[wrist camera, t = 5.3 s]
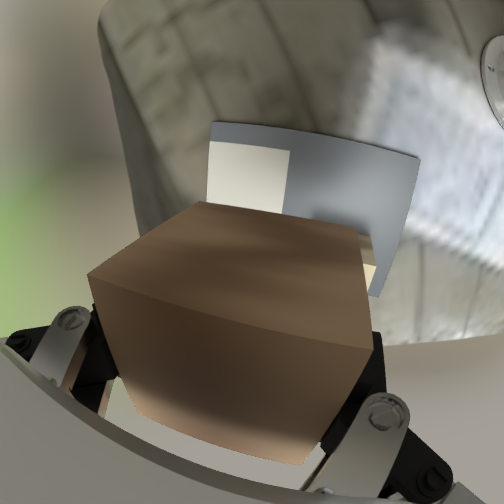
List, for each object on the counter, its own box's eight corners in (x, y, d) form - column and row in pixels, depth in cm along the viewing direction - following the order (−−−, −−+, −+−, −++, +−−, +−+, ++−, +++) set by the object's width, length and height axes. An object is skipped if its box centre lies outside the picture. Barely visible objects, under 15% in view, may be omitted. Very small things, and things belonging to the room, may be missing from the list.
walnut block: (356, 228, 9) (373, 349, 4) (321, 348, 12) (300, 465, 7) (199, 201, 11) (87, 273, 5) (201, 319, 13) (137, 412, 8)
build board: (419, 158, 21) (420, 159, 20) (378, 294, 28) (378, 298, 27) (214, 121, 25) (211, 121, 24) (207, 253, 32) (205, 255, 32)
